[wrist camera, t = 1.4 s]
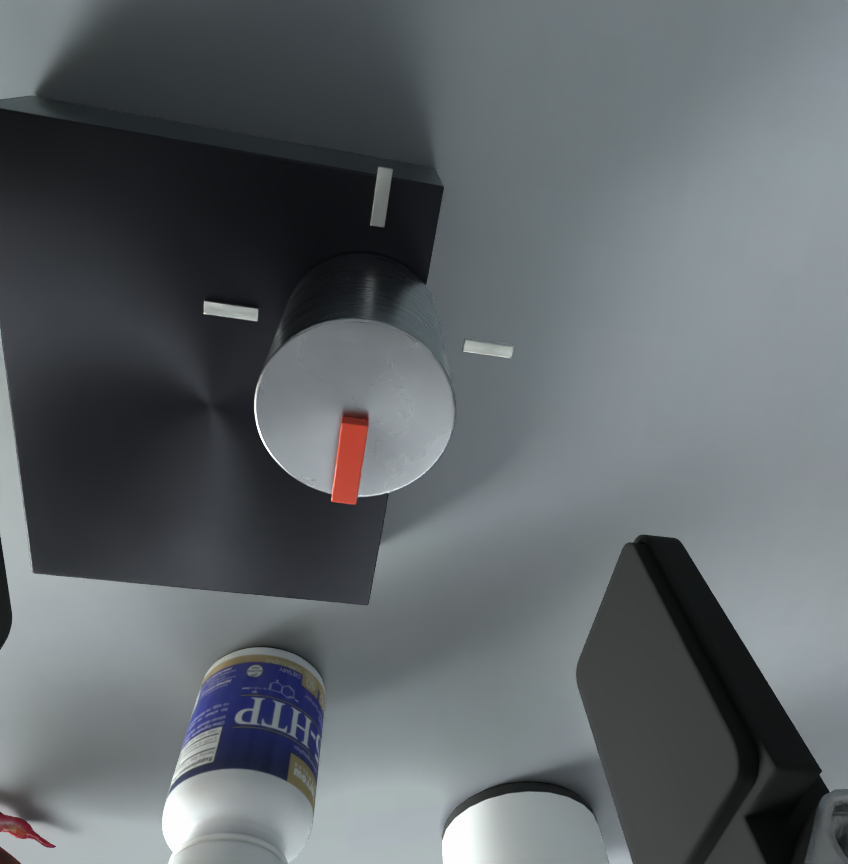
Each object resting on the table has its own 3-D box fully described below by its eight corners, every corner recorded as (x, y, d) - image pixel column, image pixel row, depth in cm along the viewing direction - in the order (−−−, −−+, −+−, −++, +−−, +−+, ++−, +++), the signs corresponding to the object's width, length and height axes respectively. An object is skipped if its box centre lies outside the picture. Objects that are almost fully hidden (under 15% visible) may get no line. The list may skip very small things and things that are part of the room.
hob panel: (28, 86, 18) (-36, 93, 15) (529, 176, 20) (552, 197, 17) (68, 518, 25) (29, 577, 22) (439, 557, 26) (445, 616, 24)
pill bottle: (351, 679, 30) (338, 903, 22) (280, 742, 31) (245, 969, 24) (247, 623, 28) (193, 846, 20) (178, 693, 29) (104, 923, 22)
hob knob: (291, 239, 17) (256, 308, 13) (453, 265, 18) (477, 341, 13) (279, 387, 19) (245, 494, 15) (425, 407, 20) (437, 516, 15)
